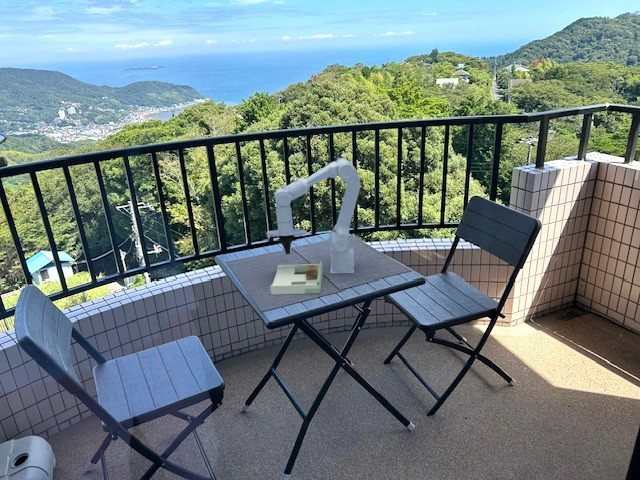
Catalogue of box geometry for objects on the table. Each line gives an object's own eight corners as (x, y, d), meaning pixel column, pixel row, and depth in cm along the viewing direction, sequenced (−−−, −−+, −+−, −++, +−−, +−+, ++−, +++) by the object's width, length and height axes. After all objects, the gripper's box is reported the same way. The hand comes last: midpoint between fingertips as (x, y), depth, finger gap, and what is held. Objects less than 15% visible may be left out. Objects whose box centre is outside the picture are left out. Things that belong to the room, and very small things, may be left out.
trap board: (322, 271, 176) (322, 261, 174) (320, 293, 159) (319, 282, 158) (278, 273, 178) (277, 262, 176) (271, 294, 161) (269, 283, 159)
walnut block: (317, 273, 170) (316, 264, 168) (318, 279, 166) (317, 269, 164) (305, 275, 170) (305, 265, 168) (306, 280, 166) (305, 270, 164)
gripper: (304, 216, 170) (307, 248, 175) (267, 217, 171) (271, 249, 176) (303, 222, 164) (305, 255, 168) (264, 223, 165) (268, 257, 170)
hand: (288, 253), depth 172 cm, fingers closed
